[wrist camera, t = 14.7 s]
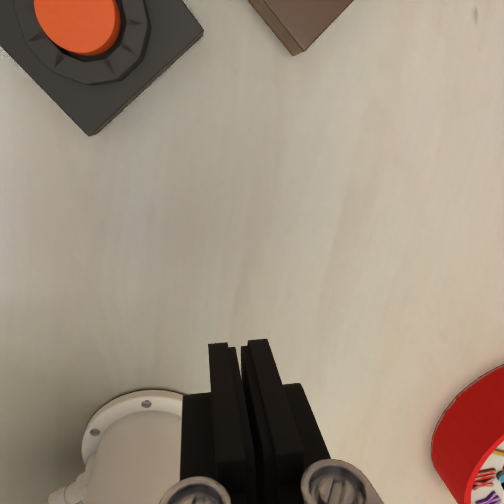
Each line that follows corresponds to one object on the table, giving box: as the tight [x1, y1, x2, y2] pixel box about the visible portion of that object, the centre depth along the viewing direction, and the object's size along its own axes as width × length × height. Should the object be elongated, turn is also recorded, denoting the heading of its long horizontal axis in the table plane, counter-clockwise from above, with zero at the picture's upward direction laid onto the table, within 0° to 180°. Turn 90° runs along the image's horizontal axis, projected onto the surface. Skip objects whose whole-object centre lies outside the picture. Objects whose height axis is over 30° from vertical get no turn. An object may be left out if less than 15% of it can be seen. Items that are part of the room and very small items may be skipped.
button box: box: [0, 0, 204, 136], centre depth 23 cm, size 10×9×4 cm
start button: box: [34, 0, 121, 56], centre depth 21 cm, size 4×4×2 cm
